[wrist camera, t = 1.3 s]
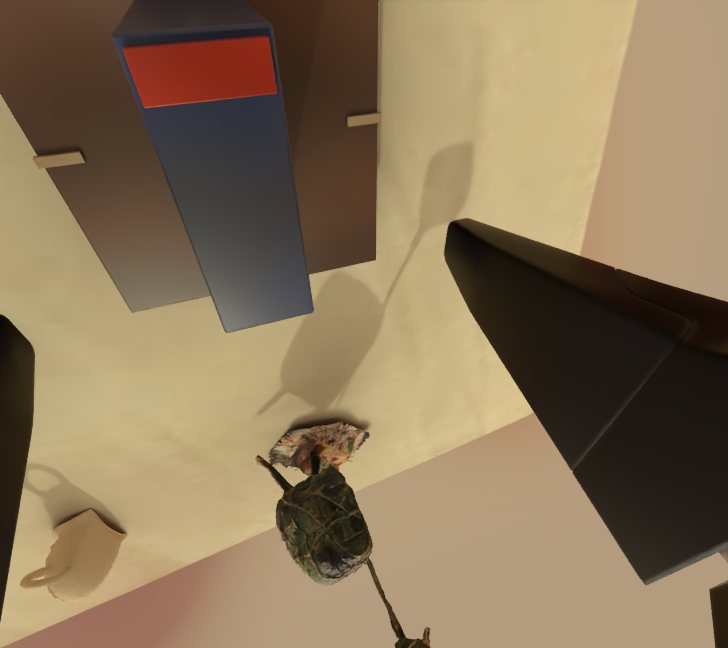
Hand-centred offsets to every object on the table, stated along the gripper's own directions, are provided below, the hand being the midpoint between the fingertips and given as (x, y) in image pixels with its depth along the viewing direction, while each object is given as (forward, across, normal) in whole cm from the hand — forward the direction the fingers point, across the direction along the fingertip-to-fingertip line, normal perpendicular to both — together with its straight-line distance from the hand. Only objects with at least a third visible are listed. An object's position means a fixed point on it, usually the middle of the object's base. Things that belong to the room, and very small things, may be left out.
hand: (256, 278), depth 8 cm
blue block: (+9, 0, 0) cm, 9 cm away
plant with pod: (+12, -1, +28) cm, 31 cm away
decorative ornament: (+12, +20, +31) cm, 39 cm away
